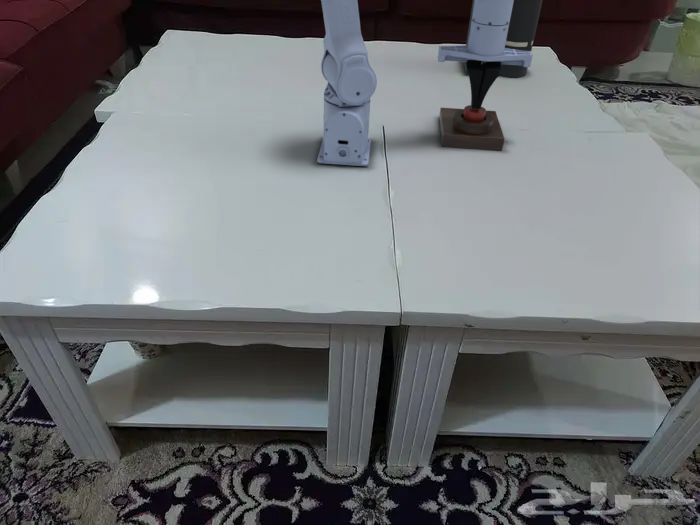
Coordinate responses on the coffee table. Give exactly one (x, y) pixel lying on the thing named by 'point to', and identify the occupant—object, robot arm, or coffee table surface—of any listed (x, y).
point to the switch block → (470, 130)
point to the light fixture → (518, 33)
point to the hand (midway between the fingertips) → (475, 106)
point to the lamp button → (474, 114)
